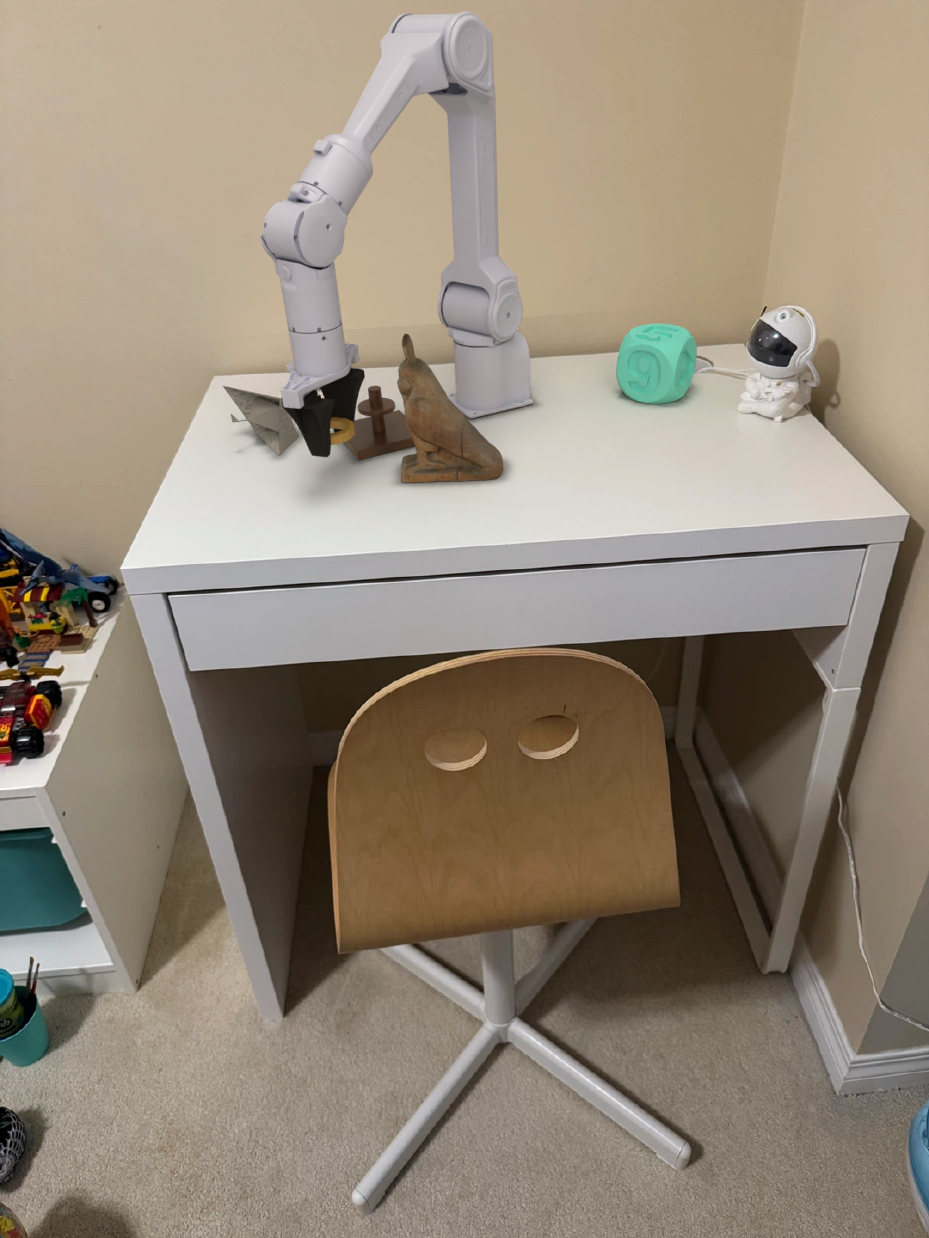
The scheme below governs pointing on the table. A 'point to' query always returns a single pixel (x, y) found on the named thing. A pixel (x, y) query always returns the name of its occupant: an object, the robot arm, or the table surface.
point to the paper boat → (265, 417)
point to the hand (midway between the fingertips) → (332, 444)
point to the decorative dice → (656, 363)
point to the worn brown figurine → (440, 430)
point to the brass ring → (346, 430)
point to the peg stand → (378, 427)
